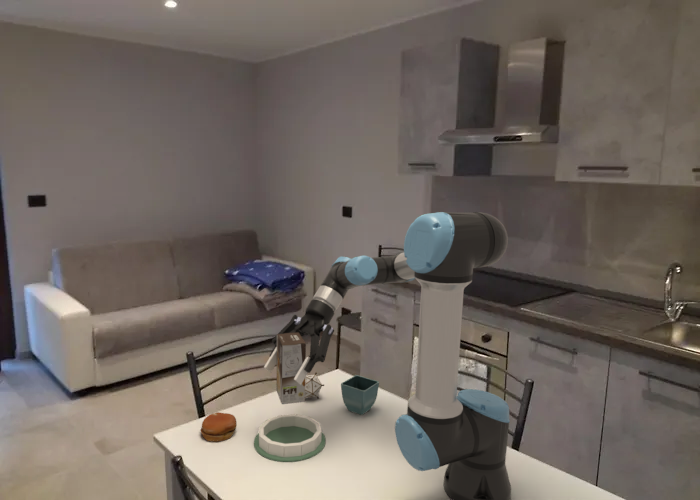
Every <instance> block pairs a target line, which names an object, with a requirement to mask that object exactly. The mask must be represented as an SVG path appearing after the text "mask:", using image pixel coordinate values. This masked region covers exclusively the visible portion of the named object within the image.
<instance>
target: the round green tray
mask: <svg viewBox="0 0 700 500" xmlns="http://www.w3.org/2000/svg"><path fill="white" fill-rule="evenodd" d="M253 445H254V447H253V448H254V450H255V451H256V452H257V453H258V454H259V455H260V456H261V457H264V458H265V459H267V460H271V461H274V462H278V463H279V462H281V463H293V462H294V463H295V462H301V461H304V460H308V459H311V458H313V457H315V456H316V455H318V454H319V453H321V452H322V451H323V449H324V448H325V445H326V436H325V433H323V430H322V427H321V424H320V422H318V421H317V420H315V419H314V418H312V417H311V416H307V415H303V414H295V413H294V414H279V415H277V416H274V417H271V418H269V419H266V420H265V421H264V422H263V423H261V425H260V426H259V427H258V433H257V434H256V435H255V437H254V441H253Z"/></svg>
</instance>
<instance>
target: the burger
mask: <svg viewBox="0 0 700 500" xmlns="http://www.w3.org/2000/svg"><path fill="white" fill-rule="evenodd" d="M236 428H237V418H236V417H235V415H234V414H231V413H224V412H218V411H217V412H214V413H211V414H209V415H207V416H206V417H205V418H204V419H203V421H202V423H201V427H200V433H201V436H202V437H203V438H204V439H205V440H206V441H208V442H216V443H217V442H223V441H227V440H229V439H231V438H232V436H233V435H234V434H235V431H236Z"/></svg>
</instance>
